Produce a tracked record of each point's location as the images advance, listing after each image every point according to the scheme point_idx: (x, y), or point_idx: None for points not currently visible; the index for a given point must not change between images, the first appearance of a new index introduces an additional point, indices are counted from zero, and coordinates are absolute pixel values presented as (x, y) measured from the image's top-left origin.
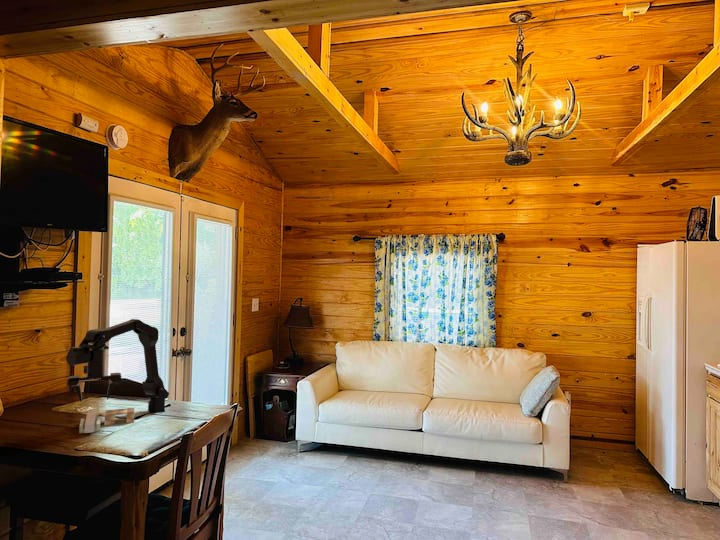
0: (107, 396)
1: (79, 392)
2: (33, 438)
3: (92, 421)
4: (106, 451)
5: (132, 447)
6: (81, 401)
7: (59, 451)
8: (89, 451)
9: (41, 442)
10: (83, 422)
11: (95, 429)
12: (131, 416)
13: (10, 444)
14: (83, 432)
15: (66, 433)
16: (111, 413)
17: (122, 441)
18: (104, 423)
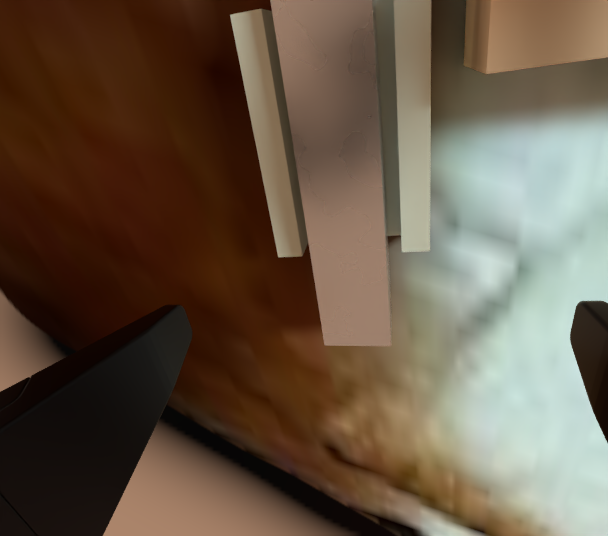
0: (599, 407)
1: (90, 526)
2: (67, 242)
3: (369, 282)
4: (461, 512)
5: (584, 518)
6: (187, 341)
7: (270, 447)
8: (391, 488)
9: None
10: (285, 169)
11: (394, 232)
12: None
13: (20, 300)
14: None
15: (208, 201)
16: (575, 58)
17: (552, 440)
18: (466, 65)
